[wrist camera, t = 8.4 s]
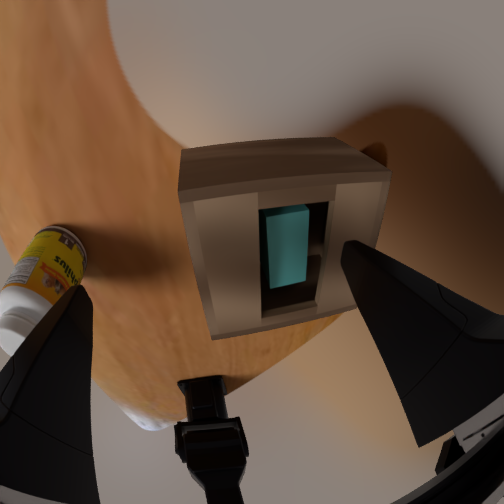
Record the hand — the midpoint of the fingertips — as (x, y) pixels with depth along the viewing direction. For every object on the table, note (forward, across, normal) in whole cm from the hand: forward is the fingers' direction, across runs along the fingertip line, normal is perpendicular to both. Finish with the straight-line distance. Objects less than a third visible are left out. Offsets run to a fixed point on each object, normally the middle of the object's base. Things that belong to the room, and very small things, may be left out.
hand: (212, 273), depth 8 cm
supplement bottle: (+12, +13, +5) cm, 18 cm away
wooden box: (+12, -4, +4) cm, 13 cm away
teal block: (+11, -5, +5) cm, 13 cm away
